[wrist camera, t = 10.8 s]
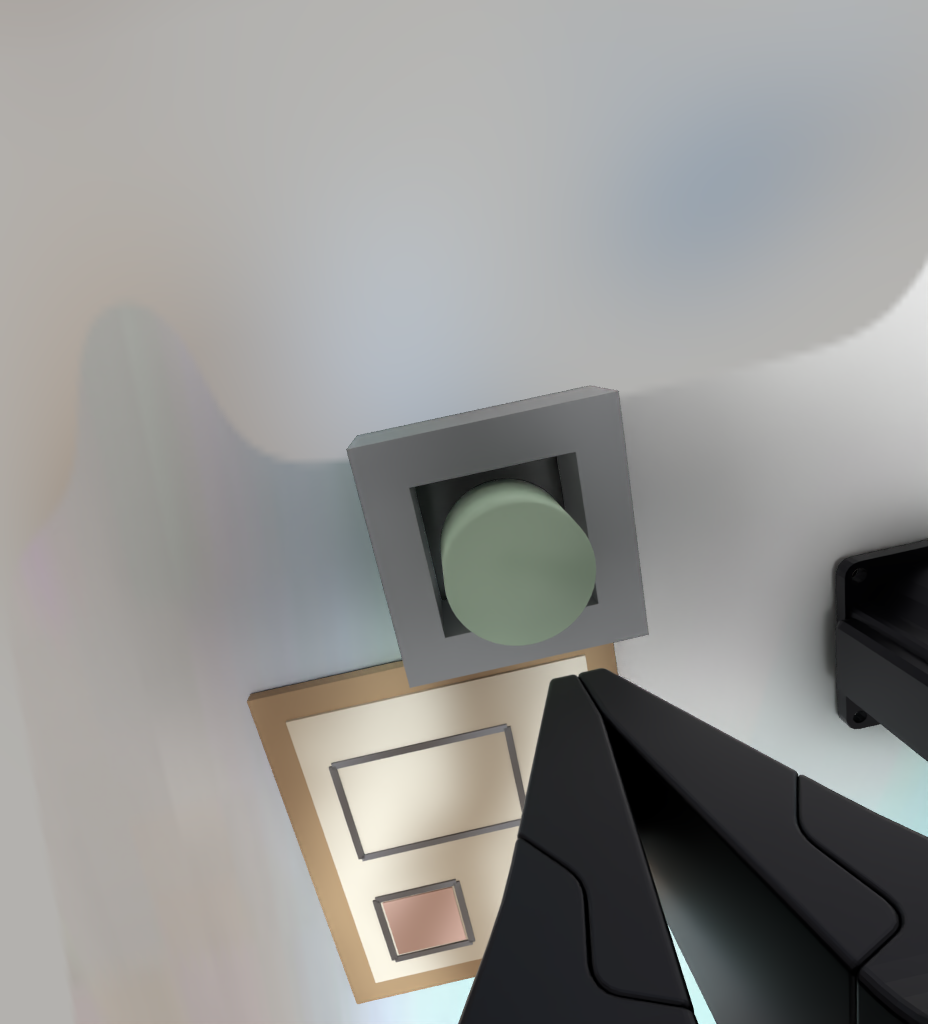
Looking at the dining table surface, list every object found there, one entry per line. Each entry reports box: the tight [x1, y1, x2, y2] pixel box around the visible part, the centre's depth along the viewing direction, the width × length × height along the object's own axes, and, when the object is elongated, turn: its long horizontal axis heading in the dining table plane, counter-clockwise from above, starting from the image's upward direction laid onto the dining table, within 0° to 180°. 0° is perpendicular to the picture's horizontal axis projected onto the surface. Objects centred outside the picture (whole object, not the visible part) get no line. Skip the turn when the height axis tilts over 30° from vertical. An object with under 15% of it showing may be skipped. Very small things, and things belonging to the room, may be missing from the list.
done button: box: [440, 479, 596, 646], centre depth 14 cm, size 4×4×2 cm
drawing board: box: [247, 643, 618, 1004], centre depth 20 cm, size 12×14×1 cm
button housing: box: [346, 386, 649, 688], centre depth 16 cm, size 7×7×2 cm
